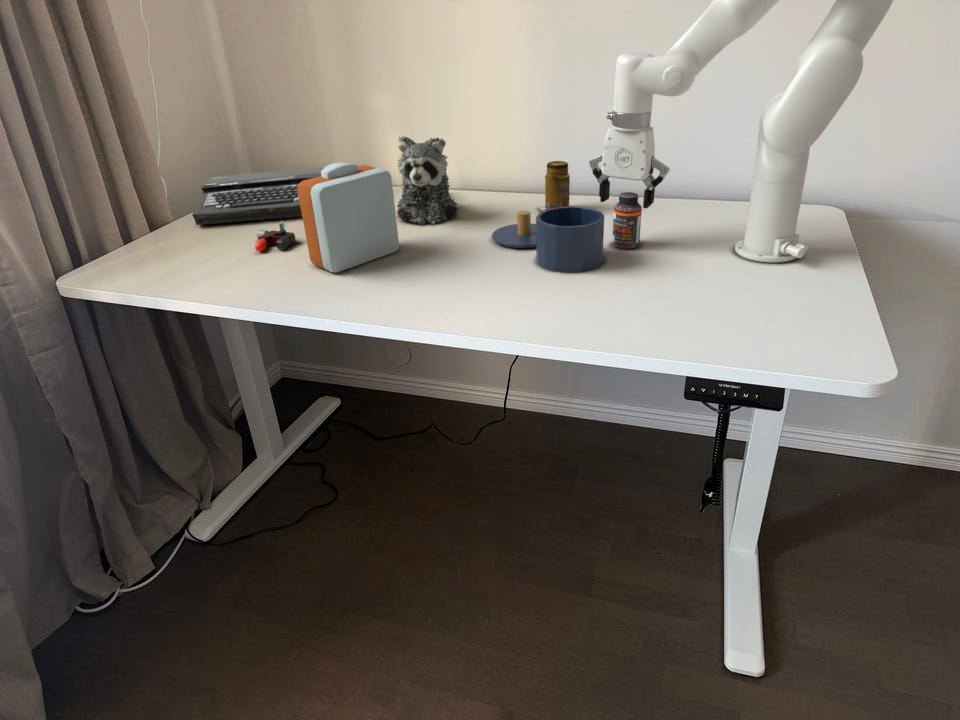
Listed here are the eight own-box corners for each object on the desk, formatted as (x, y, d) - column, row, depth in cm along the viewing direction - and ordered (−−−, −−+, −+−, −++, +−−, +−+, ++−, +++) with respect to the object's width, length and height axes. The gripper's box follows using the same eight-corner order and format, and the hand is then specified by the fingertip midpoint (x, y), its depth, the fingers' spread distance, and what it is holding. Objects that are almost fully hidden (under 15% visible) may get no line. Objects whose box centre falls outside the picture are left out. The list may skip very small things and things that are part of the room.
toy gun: (262, 237, 170) (258, 218, 168) (302, 241, 165) (298, 222, 163) (235, 250, 162) (230, 230, 160) (276, 256, 158) (271, 235, 155)
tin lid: (569, 241, 156) (569, 214, 153) (512, 254, 151) (511, 227, 148) (535, 224, 168) (535, 199, 165) (481, 236, 162) (479, 210, 159)
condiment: (566, 205, 180) (566, 158, 174) (577, 214, 172) (577, 166, 167) (539, 208, 179) (538, 161, 173) (548, 218, 171) (548, 169, 165)
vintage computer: (194, 228, 177) (186, 197, 173) (214, 199, 202) (208, 172, 199) (362, 215, 182) (358, 184, 179) (361, 189, 208) (358, 161, 204)
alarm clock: (377, 242, 162) (366, 153, 152) (401, 250, 156) (390, 158, 146) (309, 266, 151) (292, 171, 141) (332, 275, 145) (316, 177, 135)
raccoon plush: (403, 233, 167) (393, 143, 156) (387, 198, 194) (378, 120, 183) (464, 225, 169) (459, 137, 159) (441, 192, 196) (434, 114, 186)
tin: (615, 263, 143) (617, 218, 139) (559, 277, 138) (560, 231, 134) (578, 244, 154) (578, 202, 150) (525, 257, 149) (524, 214, 144)
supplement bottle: (609, 249, 151) (612, 197, 145) (613, 239, 156) (615, 189, 150) (637, 250, 149) (641, 198, 143) (640, 241, 154) (644, 190, 148)
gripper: (584, 120, 141) (581, 202, 149) (666, 127, 133) (658, 214, 141) (599, 113, 146) (595, 193, 155) (679, 120, 138) (671, 204, 146)
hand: (625, 203), depth 148 cm, fingers open, 9 cm apart
